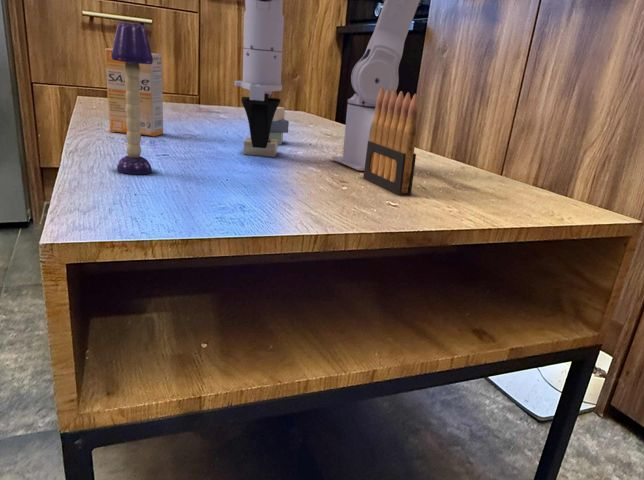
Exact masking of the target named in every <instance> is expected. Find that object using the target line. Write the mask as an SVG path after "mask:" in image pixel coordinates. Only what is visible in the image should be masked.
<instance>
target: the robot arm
mask: <svg viewBox="0 0 644 480" xmlns="http://www.w3.org/2000/svg"><path fill="white" fill-rule="evenodd" d="M420 1H421V0H384V1H383V4H382V8H381V11H380V13H379V15H378V19H377V21H376V24H375V27H374V30H373V33H372V35H371V37H370V39H369V41H368V44H367V47H366V48H365V52H364V54H363V56H362V57H361V58H359V60H358V61H357V62H356V63H355V65H354V67H353V68H352V70H351V74H350V83H351V87H352V89H353V91H354V92H355V93H354V94H353V96H351V97H350V98H347V106H346V117H345V128H344V129H345V130H344V139H343V147H342V156H332V157H331V160H332V161H335V162H338V163H339V164H342V165H345V166H347V167H349V168H352V169H354V170H356V171H362V172H364V168H365V160H366V152H367V145H368V141H370V137H371V129H372V122H373V118H374V114H375V109H376V102H377V98H378V94H379V92H380V90H381V88H382V87H383V89H384V93H386V91H387V89H390V94H391V95H392V93H393V91H394V90H396V91H397V90H398V87H399V82H400V81H399V79H400V78H399V67H400V63H401V60H402V57H403V53H404V47H405V42H406V39H407V36H408V33H409V31H410V28H411V25H412V22H413V20H414V17H415V15H416V12H417V10H418V6H419V3H420ZM283 6H284V0H244V7H245V11H244V13H243V39H242V40H243V41H242V42H243V43H242V44H243V45H242V47H243V48H242V49H243V50H242V80H234V86H235V87H240V88H242V89H246V90H248V91H249V96H242V97H241V99H240V100H241V103H242V106H243V108H244V111H245V114H246V117H247V121H248V127H249V134H250V135H249V136H250V137H251V142H252V146H253V147H257V148H266V147H267V144H268V140H269V135H270V130H271V125H272V121H273V117H274V114H275V112H276V109H277V107H279V105H280V103H281V98H279V97H278V98H277V97H269V95H270V96H271V95H272V93H273V92H281V91H283V84H282V71H283V70H282V68H283V48H284V47H283V46H284V27H285V16H284V15H283V11H284V9H283V8H284V7H283Z"/></svg>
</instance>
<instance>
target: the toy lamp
mask: <svg viewBox="0 0 644 480" xmlns="http://www.w3.org/2000/svg"><path fill="white" fill-rule="evenodd" d="M147 33H148V32H147V30H146V27H145V25H143V24H138V23H133V22H125V21H119V22H118V24H117V27H116V30H115V35H114V40H113V45H112V48H111V49H112V59H113V60H116V61H122V62H126V63H125V73H126V75H127V76H126V79H125V86H126V89H127V91H126V101H127V105H126V114H127V120H126V127H127V129H128V131H127V133H126V134H125V135H126V137H125V138H126V142H127V144H126V154H127V155H125V156H123V157H122V158H120V160H119V161H118V163H117V166H116V170H117V171H118V172H120V173H123V174H129V175H148V174H152V173H153V169H152V165H151V164H150V162H149V160H148V159H146V158H145V157H143V156H141V154H142V147H141V145H140V144H141V142H142V135H141V134H140V132H139V131H140V129H141V121H140V119H139V117H140V115H141V108H140V105H139V103H140V100H141V97H140V93H139V89H140V79H139V75H140V66H139V64H152V63H153V58H152V54H151V53H152V50H151V46H150V40H149V37H148V34H147Z"/></svg>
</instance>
